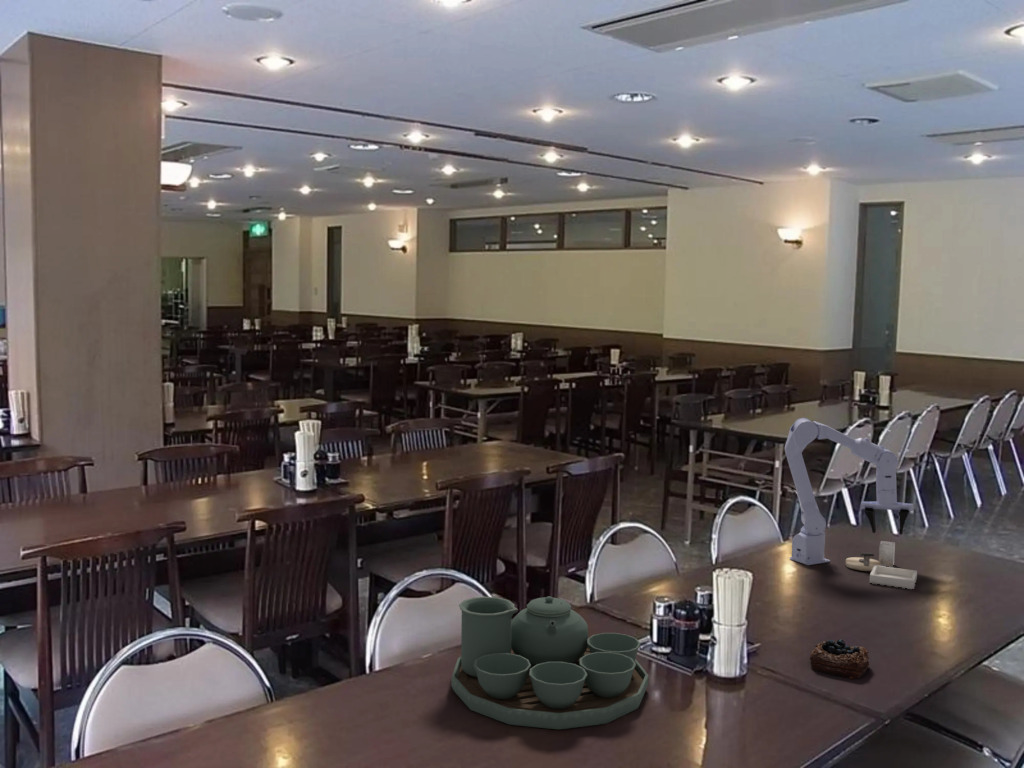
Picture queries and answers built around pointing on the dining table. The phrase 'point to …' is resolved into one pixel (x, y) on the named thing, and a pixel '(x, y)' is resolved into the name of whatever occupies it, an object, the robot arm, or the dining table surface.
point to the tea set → (544, 666)
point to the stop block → (886, 553)
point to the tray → (893, 577)
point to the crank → (862, 562)
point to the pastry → (839, 659)
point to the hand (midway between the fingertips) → (887, 532)
